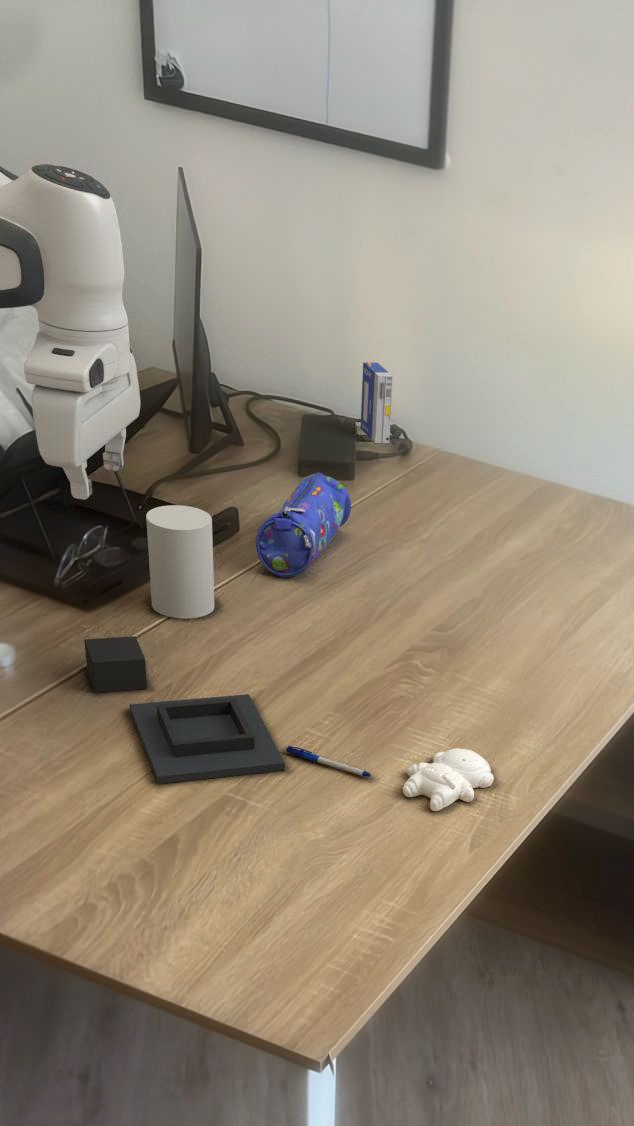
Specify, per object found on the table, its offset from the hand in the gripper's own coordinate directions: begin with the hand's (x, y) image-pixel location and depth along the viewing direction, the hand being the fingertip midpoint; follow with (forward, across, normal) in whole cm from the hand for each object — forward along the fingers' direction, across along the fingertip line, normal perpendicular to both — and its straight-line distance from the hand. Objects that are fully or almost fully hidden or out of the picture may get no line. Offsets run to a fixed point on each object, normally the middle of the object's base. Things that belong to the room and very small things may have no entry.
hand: (98, 482), depth 141 cm
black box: (+23, +3, +1) cm, 23 cm away
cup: (+23, -20, +2) cm, 30 cm away
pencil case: (+23, -43, +13) cm, 50 cm away
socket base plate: (+23, +13, +15) cm, 30 cm away
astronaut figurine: (+23, +14, +43) cm, 51 cm away
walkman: (+23, -101, +11) cm, 104 cm away
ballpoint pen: (+23, +14, +30) cm, 40 cm away
